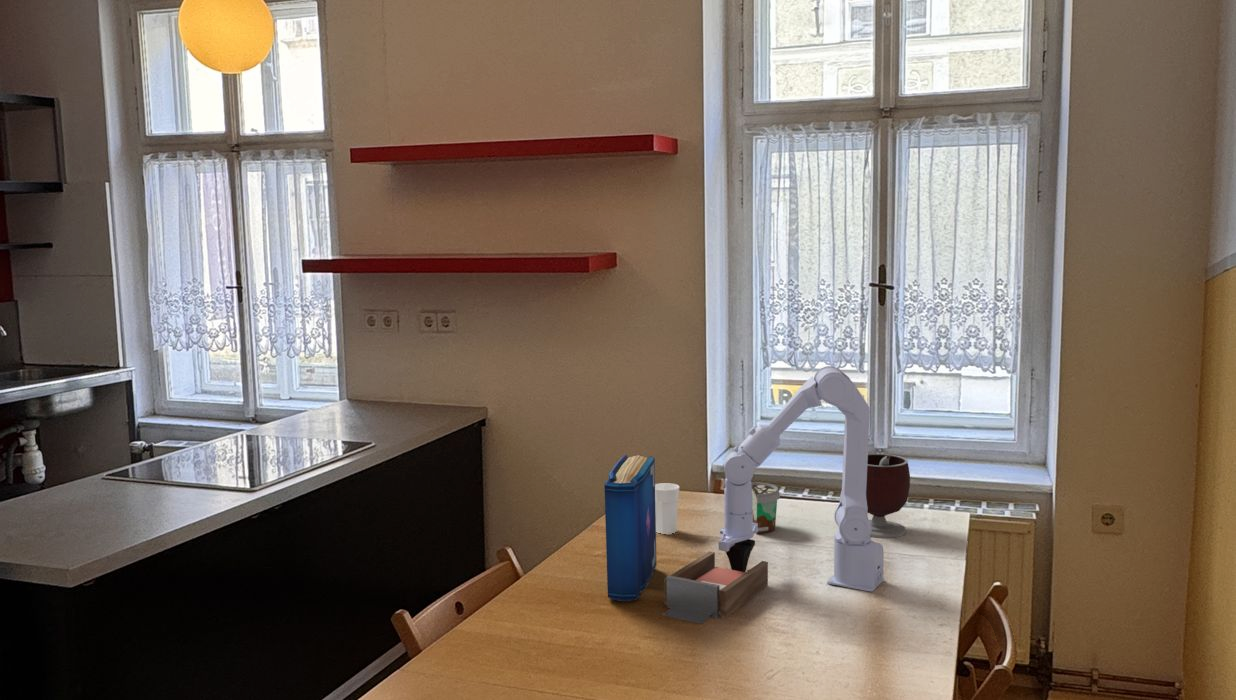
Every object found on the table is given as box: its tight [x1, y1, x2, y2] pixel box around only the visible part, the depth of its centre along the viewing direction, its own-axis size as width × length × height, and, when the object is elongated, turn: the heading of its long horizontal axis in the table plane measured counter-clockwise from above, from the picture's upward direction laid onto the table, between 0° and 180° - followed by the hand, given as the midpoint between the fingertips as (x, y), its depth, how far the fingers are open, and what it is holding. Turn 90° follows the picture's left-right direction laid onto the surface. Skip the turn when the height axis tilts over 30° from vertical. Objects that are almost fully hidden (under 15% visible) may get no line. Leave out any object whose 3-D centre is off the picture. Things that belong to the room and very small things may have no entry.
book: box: [603, 454, 657, 602], centre depth 201 cm, size 22×7×25 cm, turn 168°
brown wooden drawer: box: [663, 551, 769, 618], centre depth 196 cm, size 13×19×5 cm
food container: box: [751, 481, 781, 535], centre depth 238 cm, size 12×6×10 cm, turn 179°
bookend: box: [662, 574, 721, 625], centre depth 186 cm, size 11×5×6 cm, turn 57°
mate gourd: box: [866, 453, 911, 539], centre depth 234 cm, size 16×14×20 cm
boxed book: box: [695, 566, 747, 590], centre depth 196 cm, size 9×14×4 cm, turn 147°
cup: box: [655, 482, 680, 535], centre depth 237 cm, size 7×7×11 cm
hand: (738, 575), depth 204 cm, fingers closed
